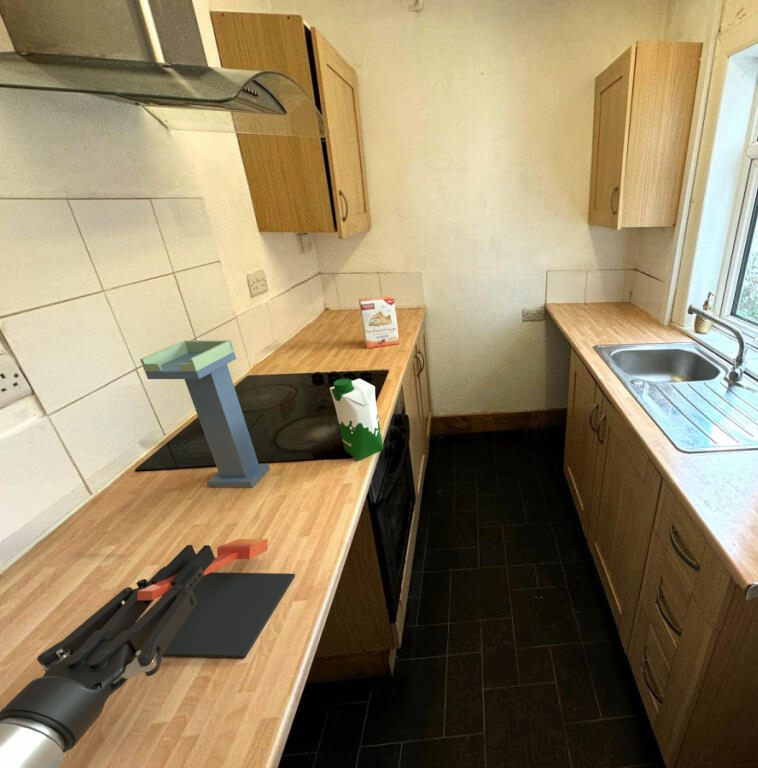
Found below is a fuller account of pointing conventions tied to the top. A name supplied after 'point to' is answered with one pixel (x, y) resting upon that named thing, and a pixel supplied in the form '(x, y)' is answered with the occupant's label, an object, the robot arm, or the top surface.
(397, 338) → the cracker box
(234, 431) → the stand
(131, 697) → the top surface
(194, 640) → the mat
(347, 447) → the milk carton
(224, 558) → the red toy mallet
